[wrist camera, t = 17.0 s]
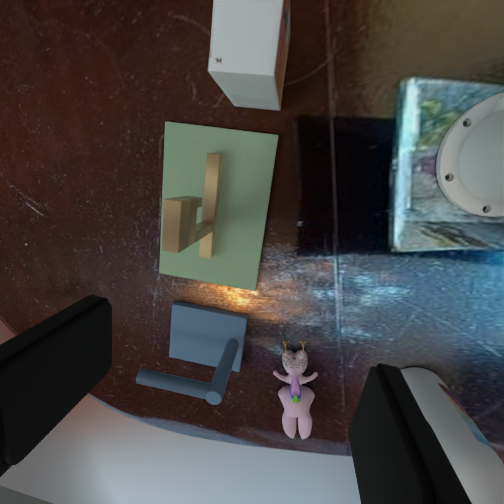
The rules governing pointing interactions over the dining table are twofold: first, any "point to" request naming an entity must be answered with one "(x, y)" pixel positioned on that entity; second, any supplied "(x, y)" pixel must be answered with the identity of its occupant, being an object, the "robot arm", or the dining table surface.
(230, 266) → the mat
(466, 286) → the dining table surface
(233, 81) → the small box
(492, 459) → the milk bottle
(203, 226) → the hanger
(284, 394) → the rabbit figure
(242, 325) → the rail stand
